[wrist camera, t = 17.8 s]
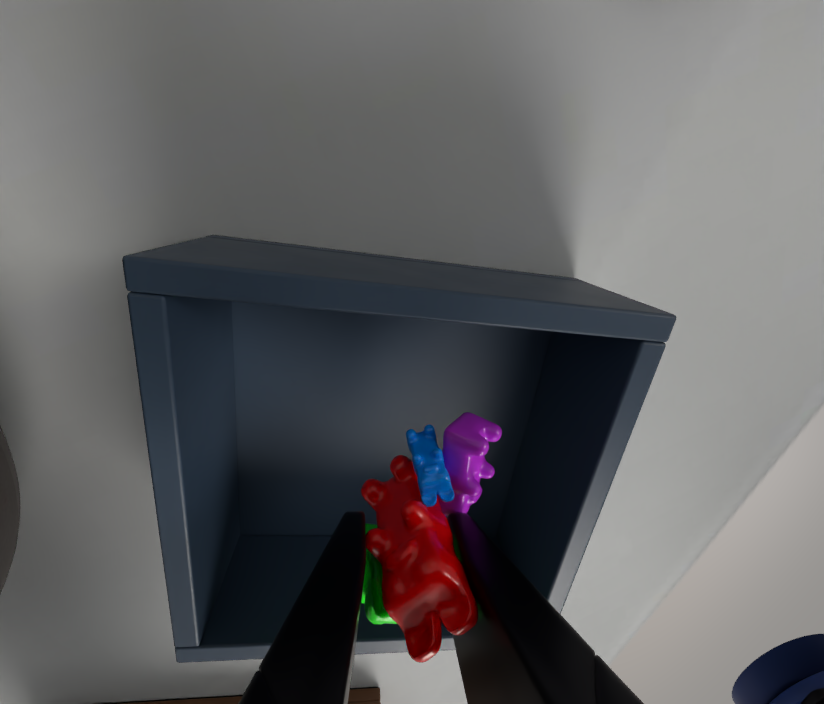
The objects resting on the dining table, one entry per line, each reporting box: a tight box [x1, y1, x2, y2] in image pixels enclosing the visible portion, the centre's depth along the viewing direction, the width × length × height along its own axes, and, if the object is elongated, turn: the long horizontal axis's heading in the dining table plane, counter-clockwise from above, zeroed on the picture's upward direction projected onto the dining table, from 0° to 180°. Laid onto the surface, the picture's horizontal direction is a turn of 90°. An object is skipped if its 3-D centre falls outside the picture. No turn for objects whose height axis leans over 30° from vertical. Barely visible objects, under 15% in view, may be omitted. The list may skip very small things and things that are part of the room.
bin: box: [122, 235, 676, 663], centre depth 11 cm, size 10×10×4 cm
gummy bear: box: [361, 412, 502, 662], centre depth 8 cm, size 5×3×4 cm, turn 131°
